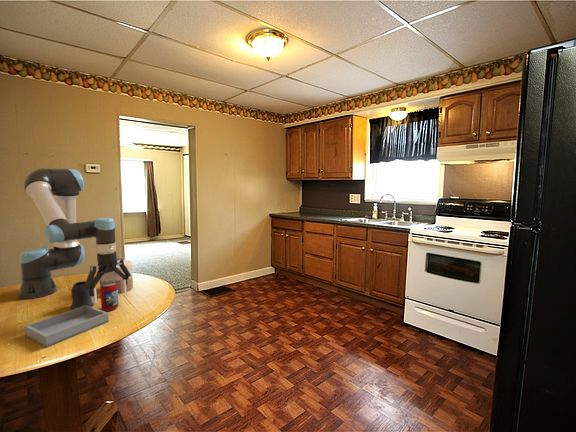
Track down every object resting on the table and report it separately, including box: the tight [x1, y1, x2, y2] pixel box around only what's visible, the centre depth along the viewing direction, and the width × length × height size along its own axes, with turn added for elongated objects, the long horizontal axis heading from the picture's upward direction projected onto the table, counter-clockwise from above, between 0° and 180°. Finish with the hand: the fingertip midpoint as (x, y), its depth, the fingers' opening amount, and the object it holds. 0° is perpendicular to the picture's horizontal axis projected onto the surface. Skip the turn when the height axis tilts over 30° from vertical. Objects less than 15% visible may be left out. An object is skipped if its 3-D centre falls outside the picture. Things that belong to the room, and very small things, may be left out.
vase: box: [99, 256, 134, 295], centre depth 160 cm, size 15×15×17 cm
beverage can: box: [99, 282, 119, 312], centre depth 137 cm, size 7×7×12 cm
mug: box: [70, 280, 95, 310], centre depth 140 cm, size 12×9×11 cm
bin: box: [24, 305, 110, 348], centre depth 119 cm, size 16×22×4 cm
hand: (109, 297), depth 137 cm, fingers open, 13 cm apart
